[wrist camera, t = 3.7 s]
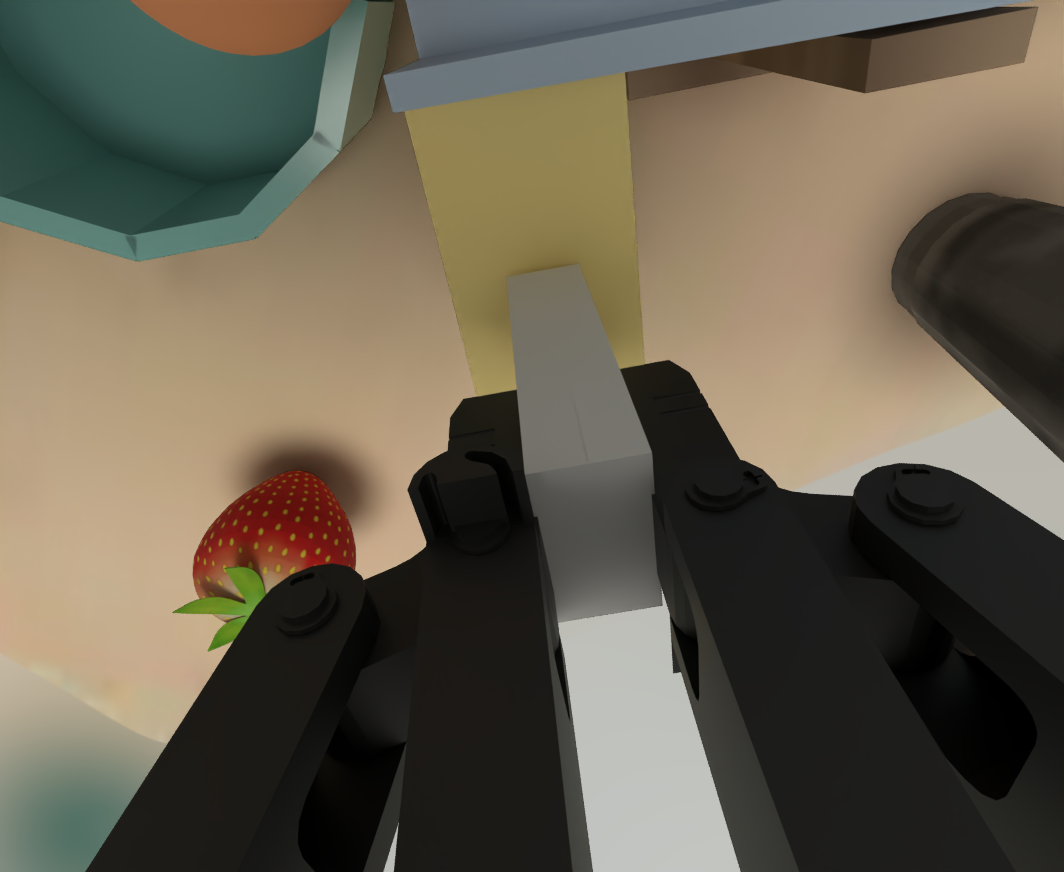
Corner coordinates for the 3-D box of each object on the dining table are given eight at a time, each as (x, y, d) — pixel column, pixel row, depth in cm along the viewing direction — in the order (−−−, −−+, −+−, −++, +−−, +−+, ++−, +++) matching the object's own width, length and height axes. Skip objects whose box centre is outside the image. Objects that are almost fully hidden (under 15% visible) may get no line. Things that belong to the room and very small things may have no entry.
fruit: (357, 432, 25) (314, 586, 18) (379, 527, 28) (349, 689, 21) (220, 440, 24) (126, 599, 18) (257, 535, 27) (187, 702, 21)
